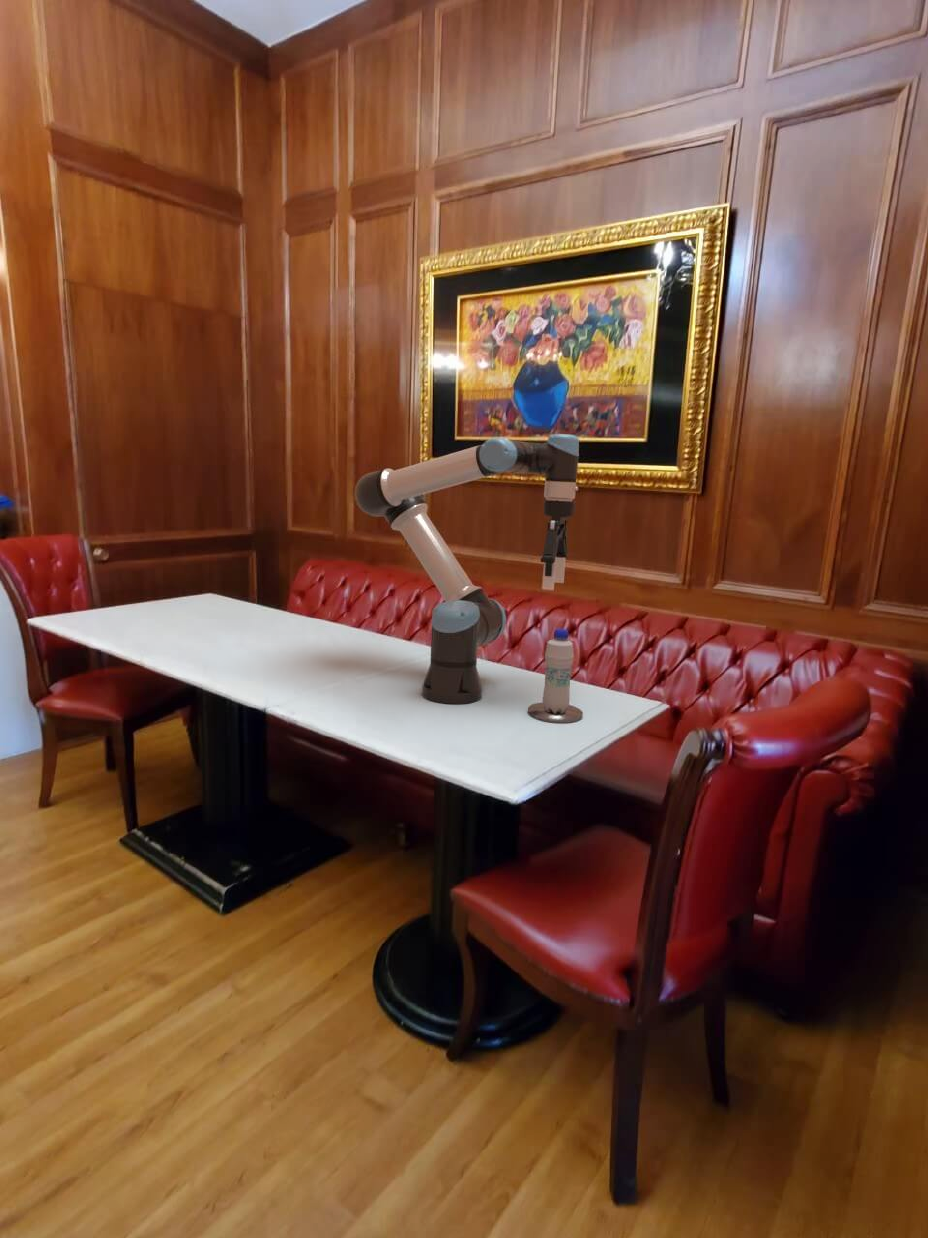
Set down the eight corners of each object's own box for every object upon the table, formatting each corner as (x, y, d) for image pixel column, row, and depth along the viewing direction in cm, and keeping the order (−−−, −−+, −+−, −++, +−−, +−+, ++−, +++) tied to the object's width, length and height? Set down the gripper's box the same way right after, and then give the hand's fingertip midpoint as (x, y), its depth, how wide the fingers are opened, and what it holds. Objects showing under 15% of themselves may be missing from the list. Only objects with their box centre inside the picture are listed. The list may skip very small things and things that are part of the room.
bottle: (570, 707, 169) (576, 627, 165) (568, 716, 163) (575, 632, 159) (542, 705, 170) (547, 624, 167) (539, 713, 164) (545, 630, 160)
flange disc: (522, 718, 163) (522, 715, 162) (534, 702, 175) (534, 699, 175) (577, 726, 159) (578, 723, 159) (586, 709, 171) (586, 706, 171)
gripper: (565, 501, 158) (559, 594, 162) (582, 500, 181) (576, 581, 185) (533, 499, 160) (527, 591, 164) (553, 498, 183) (548, 578, 188)
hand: (553, 586), depth 175 cm, fingers open, 13 cm apart
